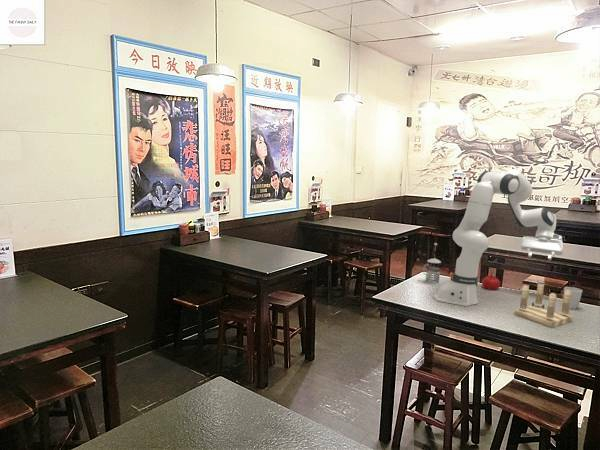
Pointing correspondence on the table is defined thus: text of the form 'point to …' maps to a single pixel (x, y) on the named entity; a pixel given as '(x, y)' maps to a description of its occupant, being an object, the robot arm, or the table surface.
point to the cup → (574, 296)
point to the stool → (545, 310)
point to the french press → (434, 271)
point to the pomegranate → (490, 282)
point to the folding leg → (539, 292)
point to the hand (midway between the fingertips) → (539, 257)
